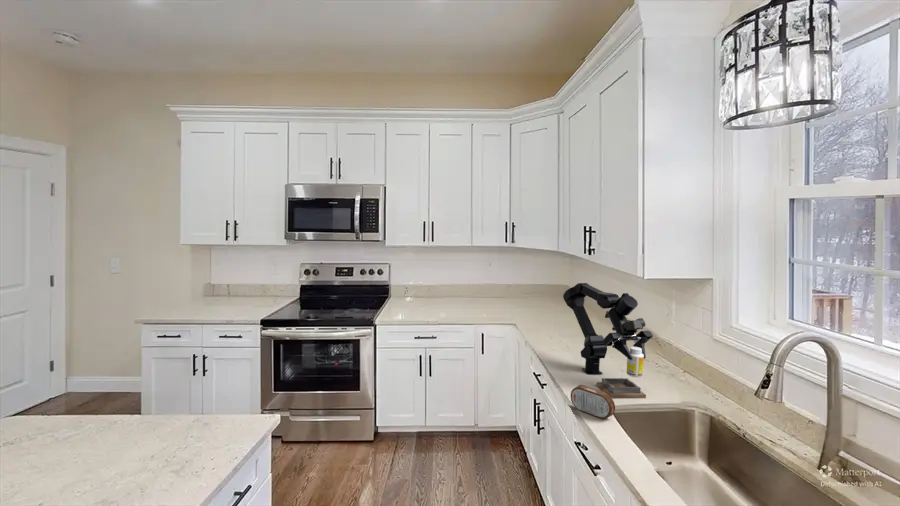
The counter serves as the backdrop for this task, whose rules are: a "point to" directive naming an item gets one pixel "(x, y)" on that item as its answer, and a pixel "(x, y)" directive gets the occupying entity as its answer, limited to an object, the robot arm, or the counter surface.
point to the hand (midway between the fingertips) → (638, 358)
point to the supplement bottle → (635, 362)
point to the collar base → (620, 388)
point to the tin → (592, 401)
